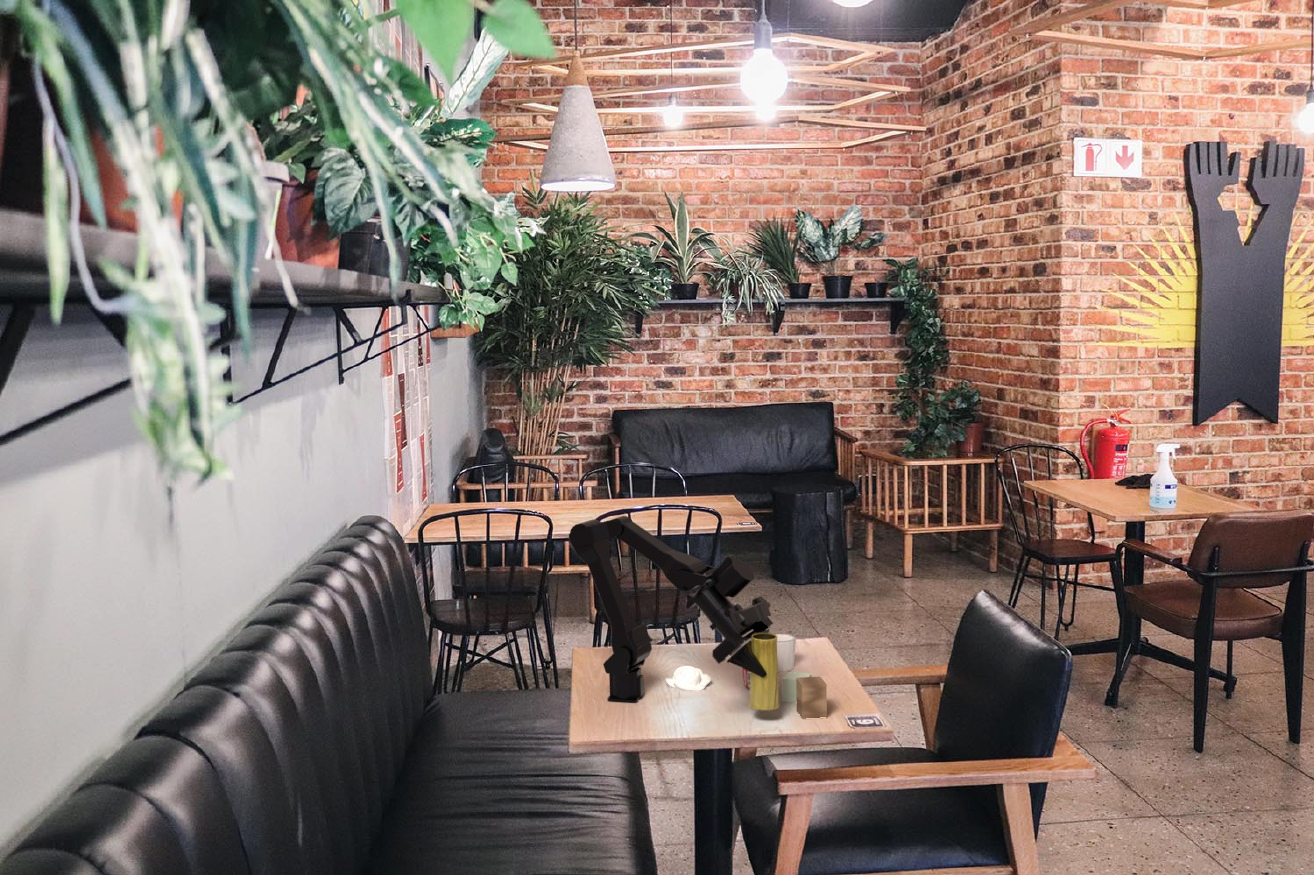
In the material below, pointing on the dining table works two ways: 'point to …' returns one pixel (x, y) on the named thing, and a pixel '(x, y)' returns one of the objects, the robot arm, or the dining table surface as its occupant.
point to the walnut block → (811, 697)
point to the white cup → (785, 651)
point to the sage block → (791, 685)
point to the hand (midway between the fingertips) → (770, 672)
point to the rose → (688, 679)
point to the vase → (766, 688)
